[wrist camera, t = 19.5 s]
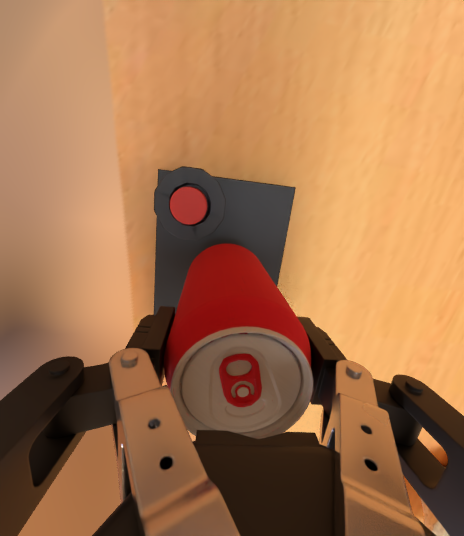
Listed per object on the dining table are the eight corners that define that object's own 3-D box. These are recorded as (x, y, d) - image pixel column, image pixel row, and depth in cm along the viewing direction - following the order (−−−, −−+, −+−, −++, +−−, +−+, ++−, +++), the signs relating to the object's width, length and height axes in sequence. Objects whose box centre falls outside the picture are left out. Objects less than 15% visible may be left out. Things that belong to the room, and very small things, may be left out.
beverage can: (195, 317, 21) (174, 469, 10) (180, 248, 19) (130, 335, 8) (267, 305, 21) (330, 441, 10) (259, 235, 19) (325, 302, 8)
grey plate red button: (162, 166, 22) (153, 162, 19) (290, 183, 23) (303, 182, 20) (156, 341, 27) (148, 362, 24) (260, 348, 28) (267, 368, 25)
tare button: (174, 184, 20) (170, 184, 18) (208, 189, 20) (208, 189, 18) (172, 219, 20) (168, 222, 19) (206, 223, 21) (205, 226, 19)
